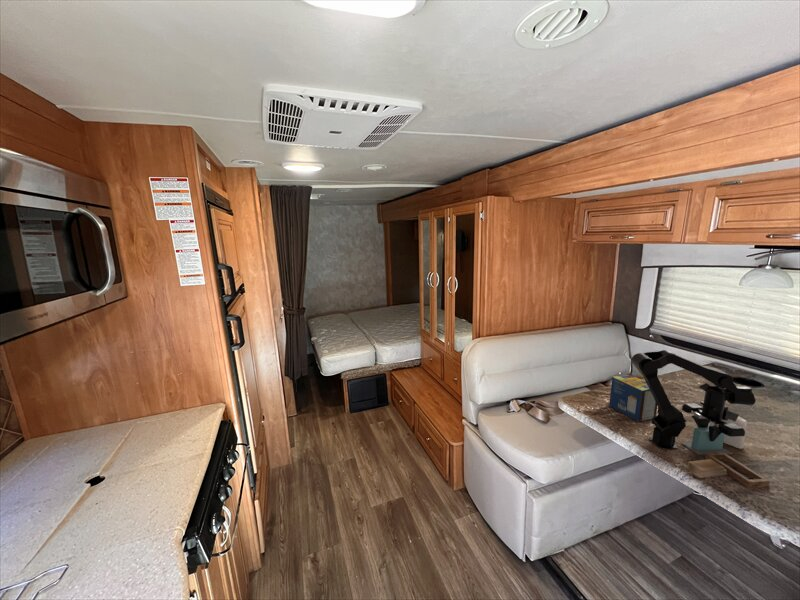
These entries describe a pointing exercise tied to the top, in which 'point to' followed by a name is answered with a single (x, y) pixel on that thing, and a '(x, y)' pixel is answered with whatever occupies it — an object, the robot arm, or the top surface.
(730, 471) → the walnut rack
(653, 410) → the protein box
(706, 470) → the offcut stack
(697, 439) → the teal block
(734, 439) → the photo printer
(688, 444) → the charcoal mat
